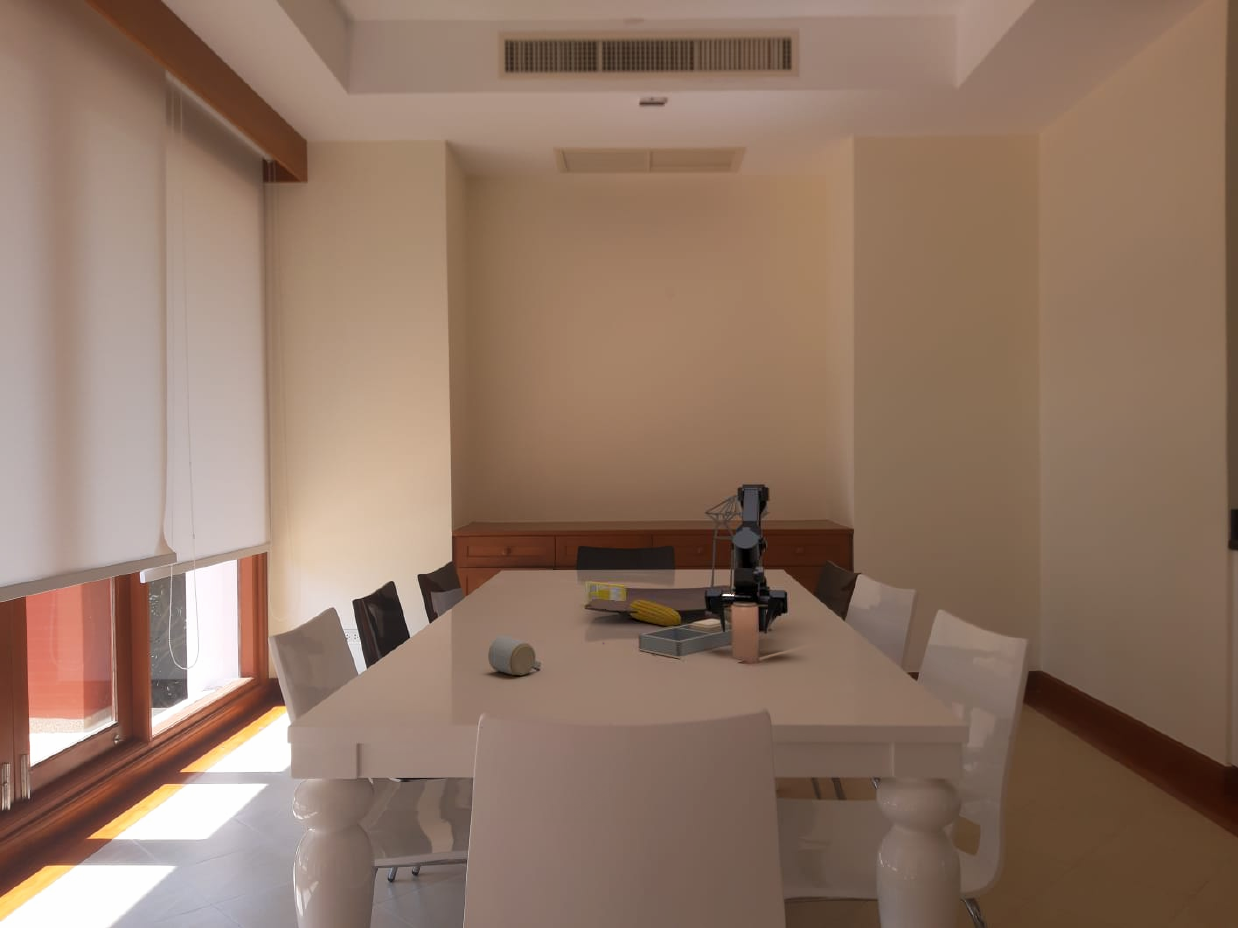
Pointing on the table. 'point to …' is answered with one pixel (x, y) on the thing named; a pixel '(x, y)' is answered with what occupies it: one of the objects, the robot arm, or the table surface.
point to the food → (655, 613)
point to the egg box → (709, 626)
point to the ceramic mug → (512, 656)
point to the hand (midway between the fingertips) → (744, 631)
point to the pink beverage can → (745, 632)
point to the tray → (682, 640)
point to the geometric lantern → (728, 530)
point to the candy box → (604, 591)
